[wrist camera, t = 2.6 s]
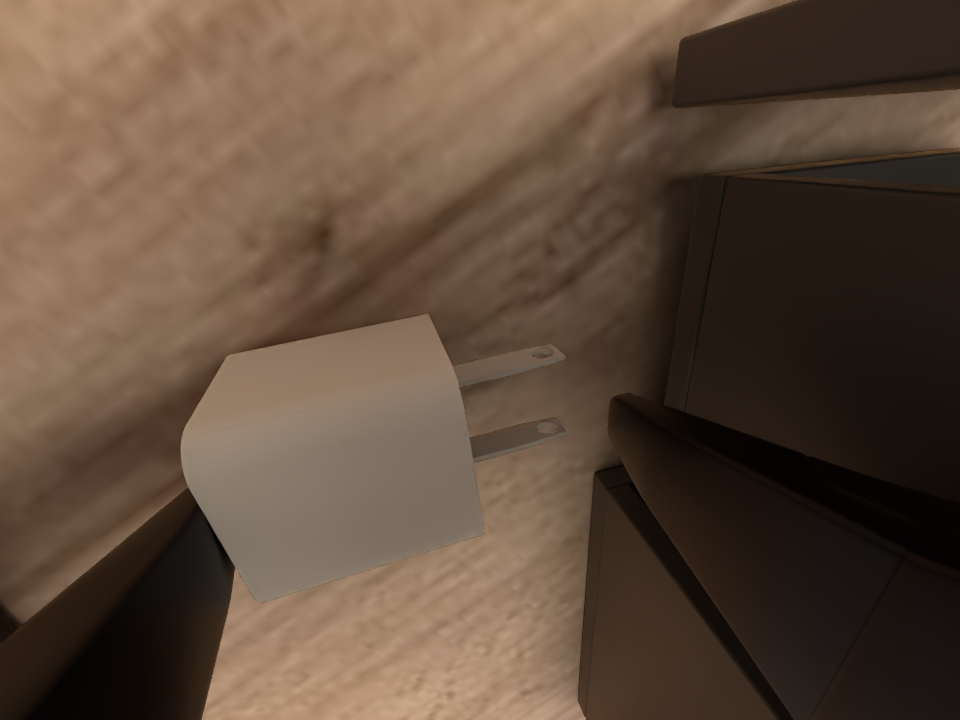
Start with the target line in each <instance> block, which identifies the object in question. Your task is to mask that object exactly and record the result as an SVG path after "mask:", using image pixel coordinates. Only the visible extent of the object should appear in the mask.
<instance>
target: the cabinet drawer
mask: <svg viewBox="0 0 960 720" xmlns="http://www.w3.org/2000/svg"><path fill="white" fill-rule="evenodd" d="M958 89H960V0H796V1H793V2H790V3H787V4H784V5H781V6H778V7H775V8H772V9H769V10H766V11H763V12H760V13H757V14H754V15H751V16H748V17H744V18H741V19H738V20H735V21H732V22H729V23H726V24H723V25H720V26H717V27H714V28H711V29H708V30H705V31H702V32H699V33H696V34H693V35H690V36H687V37H684V38H682V39H681V41H680V43H679V51H678V59H677V68H676V76H675V84H674V93H673V101H672V105H673V107H675V108H685V107H701V106H716V105H731V104H746V103H761V102H776V101H791V100H807V99H822V98H837V97H852V96H867V95H882V94H898V93H913V92H928V91H943V90H958ZM664 405H666V406H669V407H672V408H675V409H678V410H680V411H683V412H686V413H689V414H692V415H695V416H698V417H700V418H703V419H706V420H709V421H712V422H715V423H718V424H720V425H723V426H726V427H729V428H732V429H735V430H738V431H741V432H743V433H746V434H749V435H752V436H755V437H758V438H761V439H763V440H766V441H769V442H772V443H775V444H778V445H781V446H784V447H786V448H789V449H792V450H795V451H798V452H801V453H804V454H805V455H806V456H807V457H808V456H812V457H815V458H818V459H821V460H824V461H827V462H829V463H832V464H835V465H838V466H841V467H844V468H847V469H850V470H853V471H856V472H859V473H862V474H865V475H868V476H871V477H875V478H878V479H881V480H884V481H887V482H891V483H894V484H897V485H900V486H904V487H907V488H910V489H914V490H917V491H920V492H924V493H927V494H930V495H934V496H937V497H940V498H944V499H947V500H950V501H954V502H957V503H960V148H951V149H941V150H931V151H922V152H912V153H902V154H893V155H883V156H873V157H863V158H854V159H844V160H834V161H825V162H815V163H805V164H795V165H786V166H776V167H766V168H757V169H747V170H737V171H727V172H718V173H708V174H703V175H701V176H700V178H699V184H698V190H697V197H696V203H695V210H694V216H693V222H692V229H691V235H690V242H689V248H688V254H687V261H686V267H685V274H684V280H683V286H682V293H681V299H680V306H679V312H678V318H677V325H676V331H675V338H674V344H673V350H672V357H671V363H670V370H669V376H668V382H667V389H666V395H665V402H664ZM648 509H649V507H648ZM649 510H650V509H649ZM650 511H651V510H650ZM652 514H653V513H652Z"/></svg>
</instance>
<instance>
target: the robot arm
mask: <svg viewBox="0 0 960 720" xmlns="http://www.w3.org/2000/svg"><path fill="white" fill-rule="evenodd" d="M607 430H608V435H609V438H610V440H611V442H612V443H613V445H614V447H615V449H616V451H617V453H618V455H619V456H620V458H621V460H622V462H623V464H624V466H625V468H626V469H627V471H628V473H629V475H630V477H631V479H632V481H633V482H634V484H635V486H636V488H637V490H638V491H639V493H640V495H641V497H642V498H643V500H644V501H645V503H646V504H647V506H648V507H649V509H650V510H651V512H652V513H653V515H654V516H655V517H656V519H657V520H658V522H659V523H660V525H661V526H662V528H663V529H664V531H665V532H666V534H667V535H668V536H669V538H670V539H671V541H672V542H673V544H674V545H675V547H676V548H677V550H678V551H679V552H680V554H681V555H682V557H683V558H684V560H685V561H686V563H687V564H688V566H689V567H690V569H691V570H692V571H693V573H694V574H695V576H696V577H697V579H698V580H699V582H700V583H701V585H702V586H703V588H704V589H705V590H706V592H707V593H708V595H709V596H710V598H711V599H712V601H713V602H714V604H715V605H716V606H717V608H718V609H719V611H720V612H721V614H722V615H723V617H724V618H725V620H726V621H727V623H728V624H729V625H730V627H731V628H732V630H733V631H734V633H735V634H736V636H737V637H738V639H739V640H740V641H741V643H742V644H743V646H744V647H745V649H746V650H747V652H748V653H749V655H750V656H751V658H752V659H753V660H754V662H755V663H756V665H757V666H758V668H759V669H760V671H761V672H762V674H763V675H764V676H765V678H766V679H767V681H768V682H769V684H770V685H771V687H772V688H773V690H774V691H775V693H776V694H777V695H778V697H779V698H780V700H781V701H782V703H783V704H784V706H785V707H786V709H787V710H788V711H789V713H790V714H791V716H792V717H793V719H794V720H960V503H957V502H954V501H950V500H947V499H944V498H940V497H937V496H934V495H930V494H927V493H924V492H920V491H917V490H914V489H910V488H907V487H904V486H900V485H897V484H894V483H891V482H887V481H884V480H881V479H878V478H875V477H871V476H868V475H865V474H862V473H859V472H856V471H853V470H850V469H847V468H844V467H841V466H838V465H835V464H832V463H829V462H827V461H824V460H821V459H818V458H815V457H812V456H808V457H807V456H806V455H805V454H804V453H801V452H798V451H795V450H792V449H789V448H786V447H784V446H781V445H778V444H775V443H772V442H769V441H766V440H763V439H761V438H758V437H755V436H752V435H749V434H746V433H743V432H741V431H738V430H735V429H732V428H729V427H726V426H723V425H720V424H718V423H715V422H712V421H709V420H706V419H703V418H700V417H698V416H695V415H692V414H689V413H686V412H683V411H680V410H678V409H675V408H672V407H669V406H666V405H663V404H660V403H658V402H655V401H652V400H649V399H646V398H643V397H640V396H637V395H635V394H632V393H626V394H621V395H616V396H613V397H612V398H611V400H610V403H609V414H608V425H607ZM234 570H235V566H234V564H233V562H232V561H231V559H230V557H229V556H228V554H227V552H226V550H225V549H224V547H223V545H222V544H221V542H220V540H219V539H218V537H217V535H216V533H215V532H214V530H213V528H212V527H211V525H210V523H209V522H208V520H207V518H206V516H205V515H204V513H203V511H202V510H201V508H200V506H199V505H198V503H197V501H196V499H195V498H194V496H193V494H192V493H191V491H190V489H189V487H188V488H187V489H185V490H184V491H183V492H182V493H181V494H179V495H178V496H177V497H176V498H175V499H173V500H172V501H171V502H170V503H169V504H167V505H166V506H165V507H164V508H163V509H161V510H160V511H159V512H158V513H157V514H155V515H154V516H153V517H152V518H151V519H149V520H148V521H147V522H146V523H145V524H143V525H142V526H141V527H140V528H139V529H137V530H136V531H135V532H134V533H133V534H131V535H130V536H129V537H128V538H127V539H125V540H124V541H123V542H122V543H120V544H119V545H118V546H117V547H116V548H114V549H113V550H112V551H111V552H110V553H108V554H107V555H106V556H105V557H104V558H102V559H101V560H100V561H99V562H98V563H96V564H95V565H94V566H93V567H92V568H90V569H89V570H88V571H87V572H86V573H84V574H83V575H82V576H81V577H80V578H78V579H77V580H76V581H75V582H74V583H72V584H71V585H70V586H69V587H68V588H66V589H65V590H64V591H63V592H62V593H60V594H59V595H58V596H57V597H56V598H54V599H53V600H52V601H51V602H50V603H48V604H47V605H46V606H45V607H44V608H42V609H41V610H40V611H39V612H38V613H36V614H35V615H34V616H33V617H32V618H30V619H29V620H28V621H27V622H26V623H24V624H23V625H22V626H21V627H20V628H18V629H17V630H16V629H15V628H14V627H13V626H12V625H11V624H10V623H9V622H8V621H7V620H6V619H5V617H4V616H3V615H2V614H1V613H0V720H202V715H203V711H204V707H205V703H206V699H207V695H208V691H209V687H210V683H211V679H212V675H213V670H214V666H215V662H216V658H217V654H218V650H219V646H220V642H221V638H222V634H223V629H224V625H225V621H226V617H227V613H228V608H229V604H230V599H231V592H232V586H233V578H234Z"/></svg>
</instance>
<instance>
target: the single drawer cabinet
mask: <svg viewBox="0 0 960 720" xmlns="http://www.w3.org/2000/svg"><path fill="white" fill-rule="evenodd" d="M578 702H579V704H580V707H581V709H582V711H583V714H584V716H585V717H586V720H794V719H793V717H792V716H791V714H790V713H789V711H788V710H787V709H786V707H785V706H784V704H783V703H782V701H781V700H780V698H779V697H778V695H777V694H776V693H775V691H774V690H773V688H772V687H771V685H770V684H769V682H768V681H767V679H766V678H765V676H764V675H763V674H762V672H761V671H760V669H759V668H758V666H757V665H756V663H755V662H754V660H753V659H752V658H751V656H750V655H749V653H748V652H747V650H746V649H745V647H744V646H743V644H742V643H741V641H740V640H739V639H738V637H737V636H736V634H735V633H734V631H733V630H732V628H731V627H730V625H729V624H728V623H727V621H726V620H725V618H724V617H723V615H722V614H721V612H720V611H719V609H718V608H717V606H716V605H715V604H714V602H713V601H712V599H711V598H710V596H709V595H708V593H707V592H706V590H705V589H704V588H703V586H702V585H701V583H700V582H699V580H698V579H697V577H696V576H695V574H694V573H693V571H692V570H691V569H690V567H689V566H688V564H687V563H686V561H685V560H684V558H683V557H682V555H681V554H680V552H679V551H678V550H677V548H676V547H675V545H674V544H673V542H672V541H671V539H670V538H669V536H668V535H667V534H666V532H665V531H664V529H663V528H662V526H661V525H660V523H659V522H658V520H657V519H656V517H655V516H654V515H653V514H652V512H651V511H650V510H649V509H648V506H647V504H646V503H645V501H644V500H643V498H642V497H641V495H640V493H639V491H638V490H637V488H636V486H635V484H634V482H633V481H632V479H631V477H630V475H629V473H628V471H627V469H626V468H625V466H622V467H618V468H614V469H610V470H606V471H602V472H598V473H596V474H595V479H594V492H593V506H592V519H591V533H590V546H589V559H588V573H587V586H586V599H585V613H584V626H583V639H582V653H581V666H580V680H579V693H578Z"/></svg>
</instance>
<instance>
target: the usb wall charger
mask: <svg viewBox="0 0 960 720" xmlns="http://www.w3.org/2000/svg"><path fill="white" fill-rule="evenodd" d="M537 354H550V355H552V356H550V357H547V358H536V357H534V356H535V355H537ZM565 358H566V357H565V356H564V355H563V354H562V353H561V352H560V351H559V350H558V349H557V348H556V347H555V346H554V345H553V344H549V345H544V346H539V347H533V348H528V349H523V350H518V351H513V352H509V353H504V354H500V355H496V356H491V357H487V358H483V359H478V360H474V361H470V362H466V363H461V364H457V365H453V366H452V364H451V362H450V360H449V357H448V355H447V353H446V351H445V349H444V347H443V344H442V342H441V340H440V338H439V336H438V334H437V331H436V329H435V327H434V325H433V323H432V321H431V318H430V316H429V314H424V315H419V316H414V317H409V318H405V319H400V320H395V321H390V322H385V323H380V324H376V325H371V326H366V327H361V328H356V329H351V330H347V331H342V332H337V333H332V334H327V335H322V336H318V337H313V338H308V339H303V340H298V341H293V342H289V343H284V344H279V345H274V346H269V347H265V348H260V349H255V350H250V351H245V352H240V353H236V354H231V355H228V356H227V357H226V359H225V360H224V362H223V364H222V366H221V367H220V369H219V371H218V372H217V374H216V376H215V377H214V379H213V381H212V382H211V384H210V386H209V387H208V389H207V391H206V392H205V394H204V396H203V397H202V399H201V401H200V402H199V404H198V406H197V407H196V409H195V411H194V413H193V414H192V416H191V418H190V419H189V421H188V423H187V424H186V426H185V428H184V431H183V434H182V439H181V462H182V468H183V473H184V476H185V479H186V482H187V485H188V487H189V489H190V491H191V493H192V494H193V496H194V498H195V499H196V501H197V503H198V505H199V506H200V508H201V510H202V511H203V513H204V515H205V516H206V518H207V520H208V522H209V523H210V525H211V527H212V528H213V530H214V532H215V533H216V535H217V537H218V539H219V540H220V542H221V544H222V545H223V547H224V549H225V550H226V552H227V554H228V556H229V557H230V559H231V561H232V562H233V564H234V566H235V568H236V569H237V571H238V573H239V574H240V576H241V578H242V579H243V581H244V583H245V585H246V586H247V588H248V590H249V591H250V593H251V595H252V596H253V598H254V599H255V600H256V601H257V602H260V603H263V602H266V601H269V600H272V599H276V598H279V597H282V596H285V595H289V594H292V593H295V592H298V591H302V590H305V589H308V588H311V587H315V586H318V585H321V584H325V583H328V582H331V581H334V580H338V579H341V578H344V577H347V576H351V575H354V574H357V573H360V572H364V571H367V570H370V569H373V568H377V567H380V566H383V565H386V564H390V563H393V562H396V561H400V560H403V559H406V558H409V557H413V556H416V555H419V554H422V553H426V552H429V551H432V550H435V549H439V548H442V547H445V546H448V545H452V544H455V543H458V542H461V541H465V540H468V539H471V538H475V537H478V536H481V535H484V524H483V518H482V512H481V506H480V500H479V493H478V487H477V481H476V475H475V469H474V463H475V462H479V461H483V460H486V459H490V458H494V457H497V456H501V455H504V454H508V453H512V452H515V451H519V450H523V449H526V448H530V447H533V446H536V445H539V444H542V443H545V442H549V441H552V440H555V439H558V438H561V437H564V436H566V435H567V434H568V432H567V431H566V429H565V428H564V427H563V425H562V424H561V423H560V421H559V420H558V419H557V418H556V417H553V418H548V419H543V420H539V421H534V422H529V423H524V424H520V425H516V426H512V427H509V428H505V429H501V430H497V431H494V432H490V433H486V434H482V435H478V436H475V437H471V438H469V432H468V426H467V419H466V414H465V409H464V404H463V400H462V396H461V392H460V387H464V386H468V385H472V384H476V383H481V382H485V381H489V380H493V379H497V378H501V377H505V376H510V375H514V374H518V373H522V372H526V371H530V370H533V369H537V368H540V367H544V366H547V365H551V364H554V363H558V362H562V361H564V360H565ZM544 426H550V427H553V428H555V429H556V430H555V431H554V432H553V433H550V434H543V433H540V432H539V431H538V429H539V428H541V427H544Z"/></svg>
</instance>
